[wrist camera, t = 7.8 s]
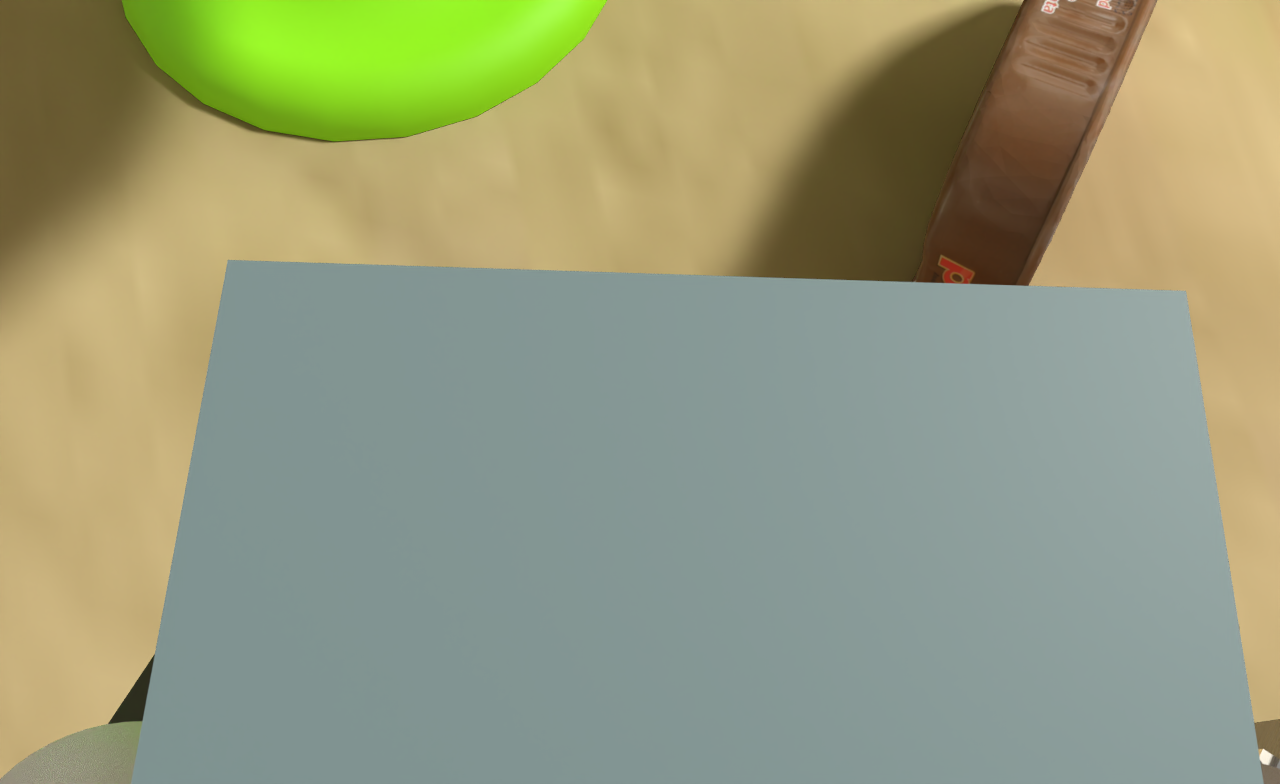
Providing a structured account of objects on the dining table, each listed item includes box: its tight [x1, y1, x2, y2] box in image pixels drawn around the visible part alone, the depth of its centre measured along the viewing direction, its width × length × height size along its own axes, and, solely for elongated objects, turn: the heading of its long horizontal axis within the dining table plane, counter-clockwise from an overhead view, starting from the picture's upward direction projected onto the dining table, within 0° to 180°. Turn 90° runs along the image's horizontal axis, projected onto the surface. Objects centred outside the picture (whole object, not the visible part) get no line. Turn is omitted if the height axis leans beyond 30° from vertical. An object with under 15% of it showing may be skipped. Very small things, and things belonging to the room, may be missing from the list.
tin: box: [912, 0, 1157, 286], centre depth 28 cm, size 15×3×8 cm, turn 153°
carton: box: [131, 260, 1264, 784], centre depth 10 cm, size 5×4×10 cm
